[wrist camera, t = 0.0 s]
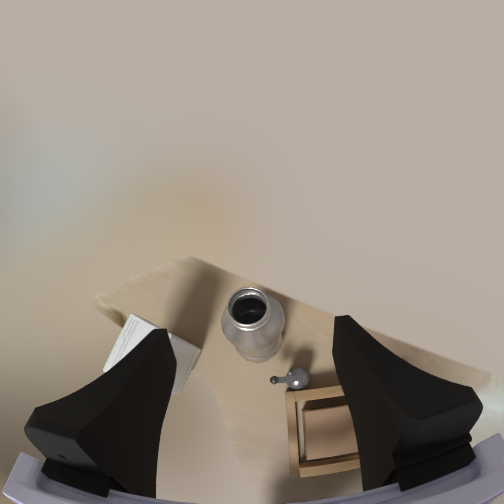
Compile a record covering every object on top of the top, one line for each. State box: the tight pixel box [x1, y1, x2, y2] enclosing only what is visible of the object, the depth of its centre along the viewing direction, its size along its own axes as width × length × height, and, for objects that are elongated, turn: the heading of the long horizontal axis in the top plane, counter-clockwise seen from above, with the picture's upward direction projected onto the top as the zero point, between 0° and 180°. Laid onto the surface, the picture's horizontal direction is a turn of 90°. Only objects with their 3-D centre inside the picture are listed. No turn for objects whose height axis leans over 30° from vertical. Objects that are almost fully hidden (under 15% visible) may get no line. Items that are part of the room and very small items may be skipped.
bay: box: [285, 385, 361, 477], centre depth 35 cm, size 13×18×3 cm
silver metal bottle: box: [221, 287, 285, 363], centre depth 35 cm, size 6×7×20 cm
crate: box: [302, 404, 358, 460], centre depth 35 cm, size 7×7×4 cm
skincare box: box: [103, 313, 201, 394], centre depth 36 cm, size 8×6×15 cm
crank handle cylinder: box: [270, 368, 309, 389], centre depth 38 cm, size 3×5×6 cm, turn 93°
